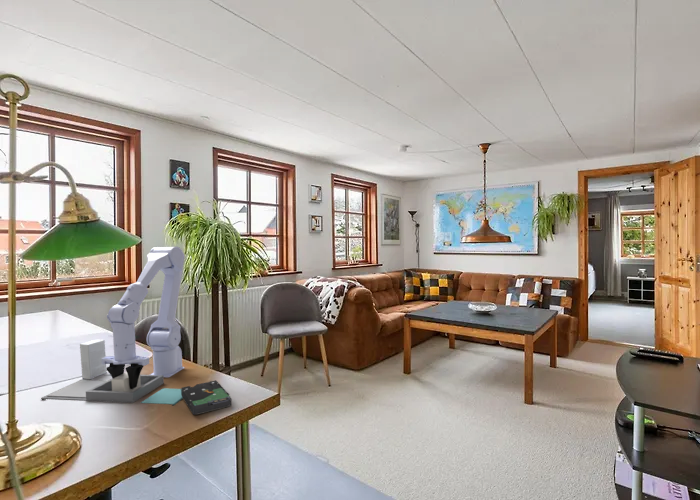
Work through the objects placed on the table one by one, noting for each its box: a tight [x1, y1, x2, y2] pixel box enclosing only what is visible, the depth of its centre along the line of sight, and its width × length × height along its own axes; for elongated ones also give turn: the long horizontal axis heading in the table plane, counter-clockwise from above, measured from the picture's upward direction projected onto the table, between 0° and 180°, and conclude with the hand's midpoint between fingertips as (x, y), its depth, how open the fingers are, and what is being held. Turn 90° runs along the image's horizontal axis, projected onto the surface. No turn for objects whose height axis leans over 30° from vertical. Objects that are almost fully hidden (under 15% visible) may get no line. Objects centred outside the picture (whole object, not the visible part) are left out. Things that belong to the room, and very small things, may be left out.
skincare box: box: [79, 339, 108, 380], centre depth 131 cm, size 6×4×12 cm
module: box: [111, 371, 141, 392], centre depth 116 cm, size 7×4×5 cm, turn 172°
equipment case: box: [40, 374, 165, 404], centre depth 117 cm, size 14×30×3 cm, turn 82°
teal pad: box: [140, 387, 184, 406], centre depth 112 cm, size 10×10×1 cm
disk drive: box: [180, 380, 232, 415], centre depth 108 cm, size 10×3×15 cm
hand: (126, 387), depth 116 cm, fingers closed on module, 4 cm apart
